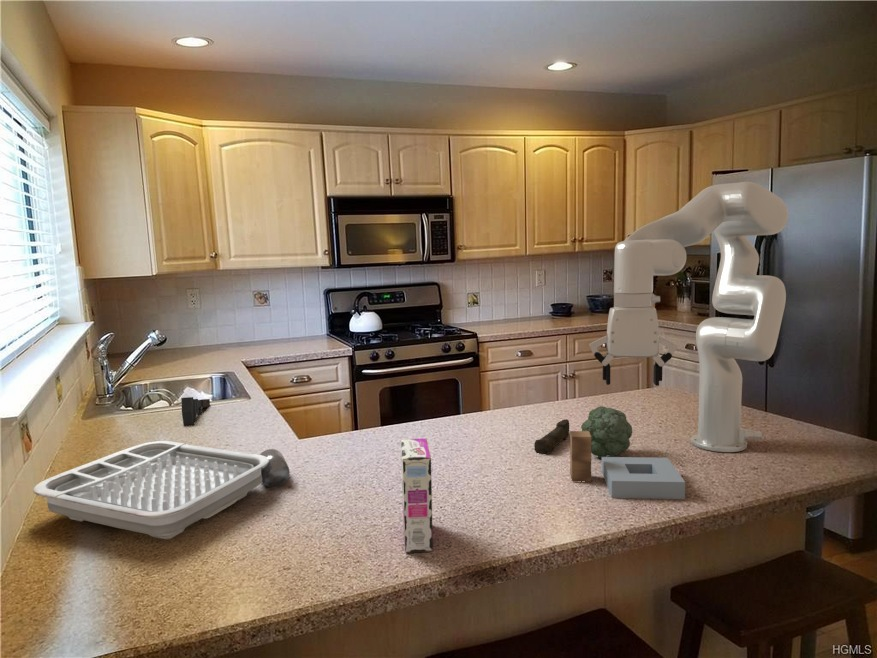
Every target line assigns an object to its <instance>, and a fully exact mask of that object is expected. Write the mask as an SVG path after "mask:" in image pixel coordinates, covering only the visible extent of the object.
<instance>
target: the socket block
mask: <svg viewBox="0 0 877 658" xmlns="http://www.w3.org/2000/svg"><path fill="white" fill-rule="evenodd" d="M601 475H602V477H603V476H604V477H603V479H605V480H604V482H605V485H606V484H607V485H606V487H607V489H609V490H608V492H609V495H610V497H611V498H613V497H614V498H615V499H652V500H653V499H655V500H656V499H658V500H686V481H685V480H684V478H683V477H682V476H681V474H680V473H679V472H678V470H677V469H676V467H675V466H674V464H673V462H672V461H671V460H670V459H669V458H668V457H646V456H645V457H640V456H639V457H638V456H636V457H631V456H629V457H627V456H625V457H624V456H623V457H622V456H606V457H602V459H601ZM614 498H613V499H614Z"/></svg>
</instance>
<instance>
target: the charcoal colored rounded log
mask: <svg viewBox="0 0 877 658" xmlns="http://www.w3.org/2000/svg"><path fill="white" fill-rule="evenodd" d="M555 426H556V427H555V428H553V429H552V430H550V431H549V432H548V433H547V434H544V436H543V437H541V438H539V439H535V440H534V451H535V453H536V454H537V453H539V455H543V454H546V455H549V453H551V450H552V449H553V448H555V446H557V445H559V443H560V442H562V441H566V440H567V439H568V438H569V436H570V422H569V420H568V419H566V418H565V419H562V420H560V421H558V422H556V425H555ZM546 455H545V456H546Z"/></svg>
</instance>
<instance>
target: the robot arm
mask: <svg viewBox="0 0 877 658" xmlns="http://www.w3.org/2000/svg"><path fill="white" fill-rule="evenodd" d="M788 211H789V210H788V207H787V205H786V203H785V201H784V200H783V199H782V198H781V197H779V196H778V195H776V194H775V193H774V192H772V191H770V190H769V189H768V188H766V187H765V186H763V185H761V184H759V183H756V182H754V181H753V182H752V181H742V182H741V181H740V182H733V183H732V182H731V183H720V184H714V185H710V186H707V187H706V188H704V189H702V190H701V191H699V192H698V193H697V194H696V195H695V196H694V197H692V199H690V200H689V201H688V202H687V203H686V204H684V205H683V206H682V207H681V208H680V209H679V210H677V211H676V212H673V213H671V214H667V215H666V216H665V215H664V217H661V218H658V219H657V220H653V221H652V222H649V223H647V224H646V225H643V226H641V227H639V228H638V229H636V230H635V231H633V232H632V233H631V234H630V235H629V236H628V237H626V238H625V239H624V240H623V241H619V242H617V244H615V247H614V271H613V272H614V277H613V278H614V279H613V281H614V282H613V283H614V287H613V289H614V290H613V307H610V308H609V311H608V317H607V318H608V319H607V326H606V335H603V336H601V337H600V338H598V339H596V340H593V341H591V342H590V343H589V344H588V346H589V349H590V350H591V352H592V354H593V356H594V358H595V359H596V360H597V361H598V362H599V363H600V364H601V365H602V380H603V381H605V384H606V386H608V385H611V365H610V362H611V361H613V359H614V358H652V359H653V360H654V361H655V362H654V364H653V373H652V374H653V375H652V376H653V378H652V379H653V380H652V381H653V384H654V385H655V386H657V387H659V386H660V382H662V381H663V367H664V366H665V364H666V363H667V362H669V360H671V359H672V358H673V355H674V354H675V352H676V350H677V349H678V345H677V343H675V342H673V341H670V340H669V339H667V338H665V337H662V336H661V335H660V329H659V319H658V313H657V308H655V307H654V305H655V304H656V303H660V302H661V295H656V294H654V293H653V291H654V276H664V277H665V276H672V275H675V274H677V273H679V272H680V271H681V270H682V269H683V268H684V266H685V264H686V262H687V251H686V249H685V248H686V247H690V246H694V245H696V244H700V243H701V242H703V241H704V240H706V239H707V238H708V237H709V236H710V235H711V234H712V233H713V234H714V236H715V238H716V241H717V243H718V246H719V250H720V261H719V265H718V266H719V267H718V269H717V275H716V278H715V283H714V288H713V292H712V296H711V298H712V299H711V304H712V306H713V308H714V309H715V310H717V311H718V312H720V313H724V314H728V315H729V314H730V315H741V316H742V315H746V316H754V317H753V319H747V318H739V317H723V316H721V317H720V316H718V317H717V316H715V317H714V316H713V317H708V318H706V319H704V320H703V321H702V320H701V322H700V323H699V324H698V326H697V327H696V332H695V341H696V342H695V343H696V348H697V351H698V353H697V354H698V361H699V362H698V363H699V365H698V366H699V374H698V375H699V376H698V377H699V378H698V379H699V382H698V383H699V384H698V412H697V413H698V419H697V420H698V423H697V433H696V434H695V433H694V434H693V435H691V438H690V442H691V444H692V445H693V446H695V447H696V448H699V449H702V450H706V451H712V452H718V453H735V452H736V453H737V452H741V451H745V450H746V449H747V448H748V441H749V439H753V440H762V439H763V434H762V431H761V430H753V429H751V428H750V429H748V428H747V429H745V428H743V427H742V425H741V424H742V423H741V421H742V396H743V394H742V392H743V391H742V390H743V374H742V371H741V368H740V366H739V364H738V363H737V360H736V359H738V360H742V361H743V360H744V361H750V362H751V361H753V362H764V361H767V360H769V359H770V358H771V357H772V355H773V354H774V353H775V350H776V347H777V344H778V343H777V342H778V339H779V334H780V329H781V325H782V320H783V316H784V311H785V306H786V300H787V292H786V286H785V284H784V282H783V281H782V280H781V279H780V278H779V277H776V276H774V275H760V274H759V275H757V274H758V273H757V272H758V268H759V263H760V255H759V253H758V251H757V249H756V248H755V245H753V244H752V243H751V241H750V240H749V239H748V237H749V236H751V237H753V236H772V235H776V234H778V233H780V232H781V231H783V230H784V229H785V227H786V226H787V223H788V220H789V212H788ZM747 236H748V237H747ZM604 344H605V345H606V347H605V348H606V351H607V353H606V354H605V355H603V354H601V352H600V351H599V350H598V348H599V347H601V346H602V345H604ZM660 345H663V346H665V347H667V349H666V351H665V353H664V354H662V355H661V356H659V353H660Z"/></svg>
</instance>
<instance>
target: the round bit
mask: <svg viewBox="0 0 877 658" xmlns="http://www.w3.org/2000/svg"><path fill="white" fill-rule="evenodd" d="M259 455H263V456H265V457H267V458H268V459H269V463H268V464H267V465H266V466H265V467H264V468H262V469H261V475H262V482H261V484H263V486H266V487H268V488H270V489H273V488H274V489H276V488H280V487H282V486H283V485H284V484H286V482H288V480H289V477H290V473H291V472H290V468H289V465H288V463H287V461H286V460H285V457H284V455H283V454H282V453H281V451H279V450H278V449H273V448H270V449H265V450H263V451H262V452H260V454H259Z"/></svg>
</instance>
